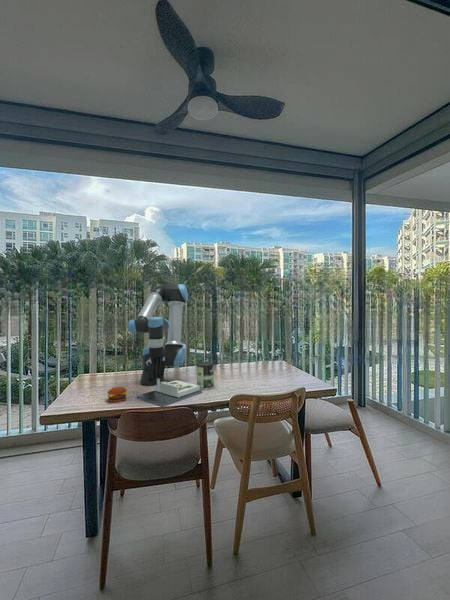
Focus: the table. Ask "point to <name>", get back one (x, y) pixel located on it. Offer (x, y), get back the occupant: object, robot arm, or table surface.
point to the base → (164, 397)
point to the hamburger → (117, 394)
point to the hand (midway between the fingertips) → (157, 390)
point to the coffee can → (205, 375)
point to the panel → (177, 388)
